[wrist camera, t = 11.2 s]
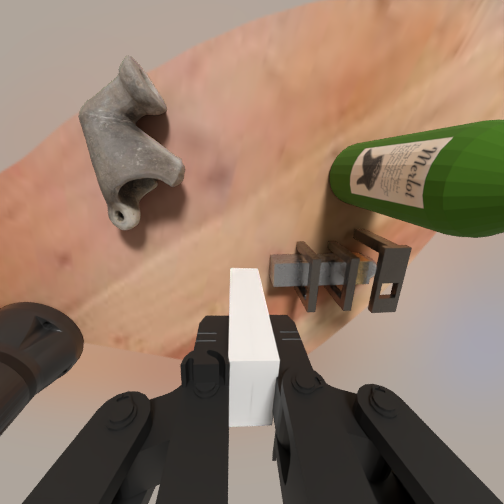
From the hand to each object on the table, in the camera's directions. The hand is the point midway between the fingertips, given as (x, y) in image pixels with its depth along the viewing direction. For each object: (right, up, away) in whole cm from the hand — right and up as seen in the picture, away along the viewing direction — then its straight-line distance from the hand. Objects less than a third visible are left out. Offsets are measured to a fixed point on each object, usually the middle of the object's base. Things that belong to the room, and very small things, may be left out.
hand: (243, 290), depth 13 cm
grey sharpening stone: (+12, 0, +28) cm, 31 cm away
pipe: (-15, +16, +20) cm, 30 cm away
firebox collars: (+14, +1, +28) cm, 32 cm away
